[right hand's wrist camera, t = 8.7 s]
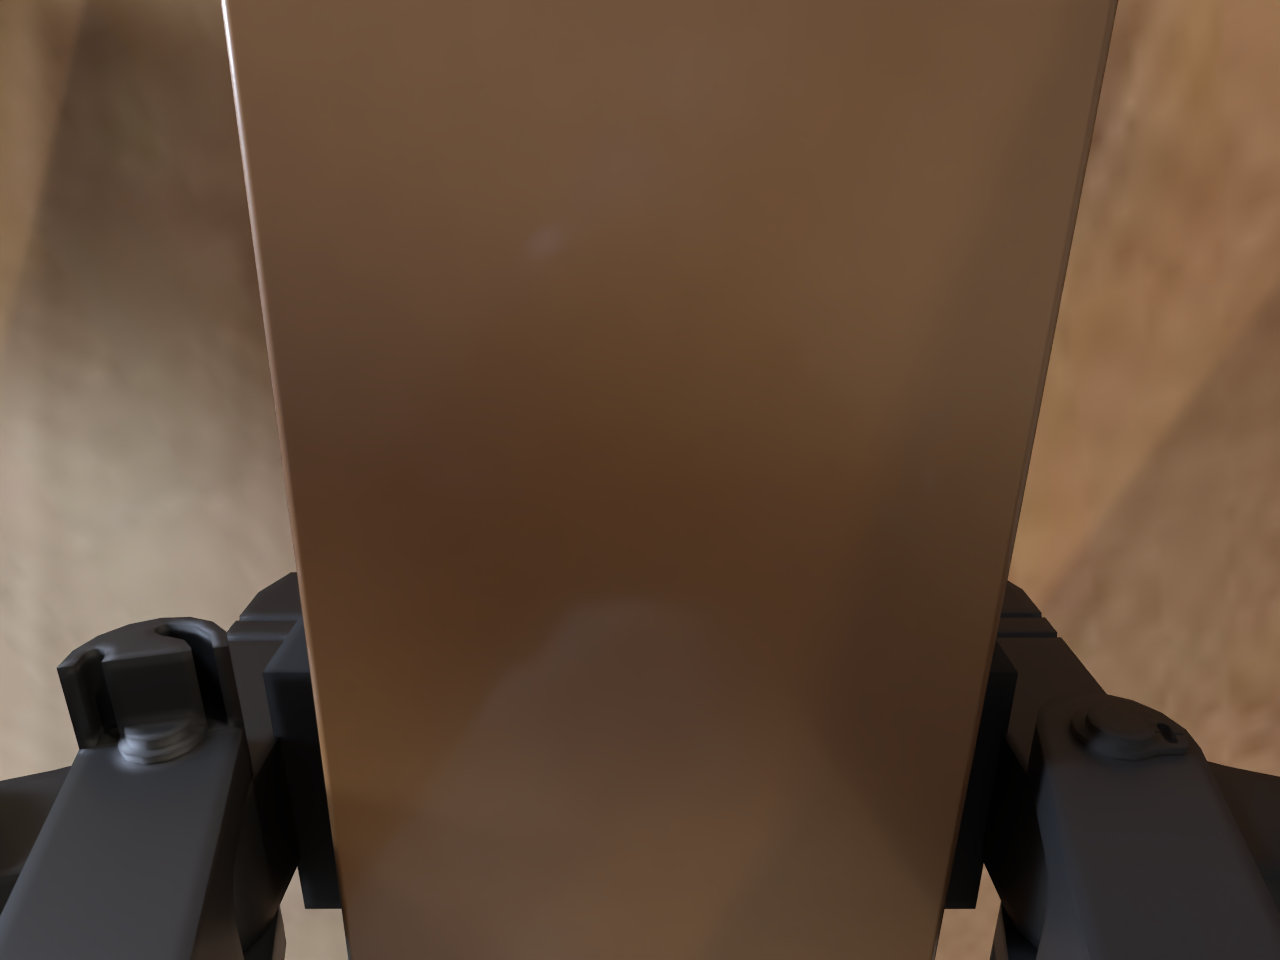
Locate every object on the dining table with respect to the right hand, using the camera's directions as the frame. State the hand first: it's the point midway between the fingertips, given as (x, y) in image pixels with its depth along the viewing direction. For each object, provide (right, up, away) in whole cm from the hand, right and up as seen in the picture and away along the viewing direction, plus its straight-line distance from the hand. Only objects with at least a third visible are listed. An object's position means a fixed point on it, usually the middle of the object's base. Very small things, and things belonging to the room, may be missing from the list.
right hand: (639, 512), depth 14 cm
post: (0, -24, +10) cm, 26 cm away
